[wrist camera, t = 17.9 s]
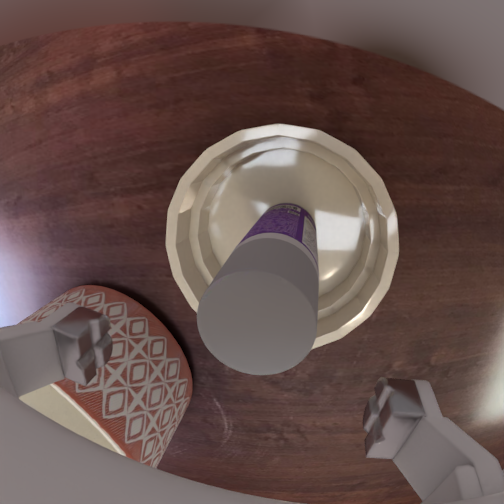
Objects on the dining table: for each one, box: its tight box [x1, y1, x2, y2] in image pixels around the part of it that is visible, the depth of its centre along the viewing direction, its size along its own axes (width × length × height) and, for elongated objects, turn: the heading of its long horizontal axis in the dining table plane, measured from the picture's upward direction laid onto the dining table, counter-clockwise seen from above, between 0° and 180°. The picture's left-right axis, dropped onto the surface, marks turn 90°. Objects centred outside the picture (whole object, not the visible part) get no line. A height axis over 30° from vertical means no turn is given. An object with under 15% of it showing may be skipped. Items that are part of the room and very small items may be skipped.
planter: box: [17, 285, 193, 468], centre depth 27 cm, size 19×19×15 cm
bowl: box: [166, 123, 399, 349], centre depth 23 cm, size 16×16×6 cm
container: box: [197, 203, 319, 375], centre depth 18 cm, size 5×5×15 cm
